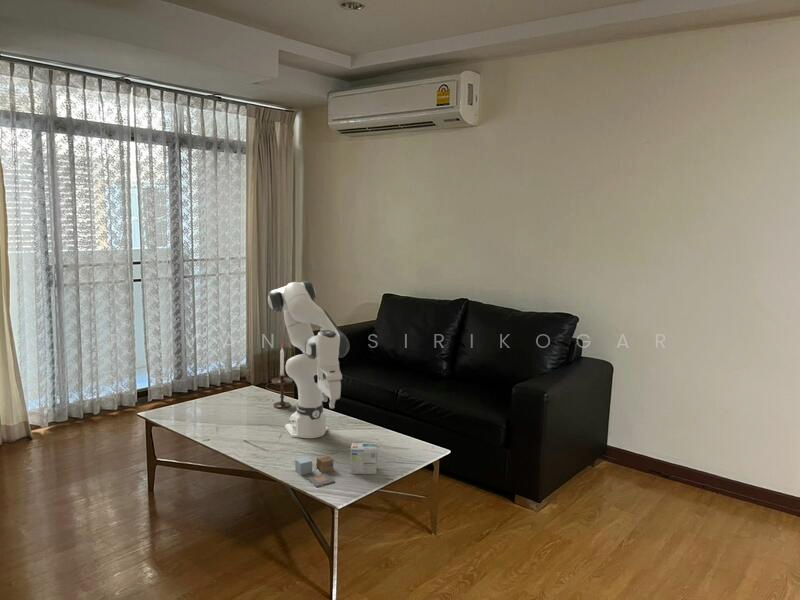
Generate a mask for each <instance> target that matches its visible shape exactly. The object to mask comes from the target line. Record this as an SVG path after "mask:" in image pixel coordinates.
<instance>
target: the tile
mask: <svg viewBox="0 0 800 600" xmlns="http://www.w3.org/2000/svg"><path fill="white" fill-rule="evenodd" d="M307 479H308V480H309V481H310V483H311V484H312V483H313V484H314V485H315V486H316V488H319V487H318V486H320V487H322V486H321V485H324V486H327V485H330V484H334V483H335V482H336V481H335V480H334V479H333V478H332V477H330V475H328V474H327V473H323V474H322V473H321V474H318V475H316V474H315V475H314V476H310V477H307V478H306V480H307ZM308 480H307V481H308ZM309 481H308V482H309ZM313 484H312V485H313ZM326 484H327V485H326ZM314 485H313V486H314ZM315 486H314V487H315Z"/></svg>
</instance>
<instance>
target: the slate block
mask: <svg viewBox="0 0 800 600" xmlns="http://www.w3.org/2000/svg"><path fill="white" fill-rule="evenodd" d="M294 465H295V467H294V471H295V472H296V473H297V474H298V473H299V474H298V475H299V476H304V475H303V474H305V475H307V474H306V473H309V474H311V473H310V472H312V473H313V460H312V459H310V458H309V457H308V456H303V457H300V458H296V459H294Z"/></svg>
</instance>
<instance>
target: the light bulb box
mask: <svg viewBox="0 0 800 600" xmlns="http://www.w3.org/2000/svg"><path fill="white" fill-rule="evenodd" d="M377 469H378V442H357V443H356V442H351V446H350V474H351V475H354V474H355V475H357V474H359V475H377V472H378V471H377Z"/></svg>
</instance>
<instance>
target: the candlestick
mask: <svg viewBox="0 0 800 600" xmlns="http://www.w3.org/2000/svg"><path fill="white" fill-rule="evenodd" d="M283 347H284V342H282V343H281V350H279V351H280V352H279V355H280V358H279V360H280V361H279V362H280V364H279V365H280V366H279V368H280V370H279V371H280V372H279V374H278V377H275V378H272V379H271V384H273V385H277V386H278V385H280V391H279V395H280V396H279V398H280V401H277V402H274V403H273V408H274V409H280V410H281V409H283V410H284V409H289V408H290V407H291V405H292V404H291V403H290V402H289V401H285V400H284V398H285V396H284V395H285V393H286V392H285V391H284V386H285V385H289V384H292V383H293V379H292V378H290V377H289V376H288V377H287V376H286V374H285V350H284V348H283Z"/></svg>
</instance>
